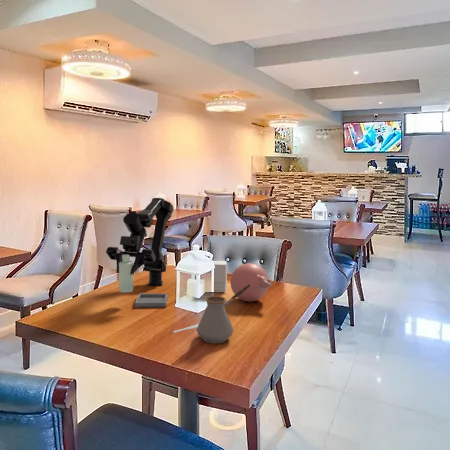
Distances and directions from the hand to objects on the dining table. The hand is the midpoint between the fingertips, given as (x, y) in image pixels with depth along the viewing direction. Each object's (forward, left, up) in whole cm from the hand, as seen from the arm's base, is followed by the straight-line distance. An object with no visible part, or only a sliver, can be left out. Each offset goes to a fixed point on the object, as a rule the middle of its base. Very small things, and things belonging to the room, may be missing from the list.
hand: (124, 273), depth 155 cm
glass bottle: (-1, 0, -7) cm, 7 cm away
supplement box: (-21, +37, -13) cm, 44 cm away
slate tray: (-5, +10, -13) cm, 17 cm away
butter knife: (+26, +19, -14) cm, 35 cm away
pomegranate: (-5, +50, -13) cm, 52 cm away
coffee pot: (+27, +37, -13) cm, 48 cm away
